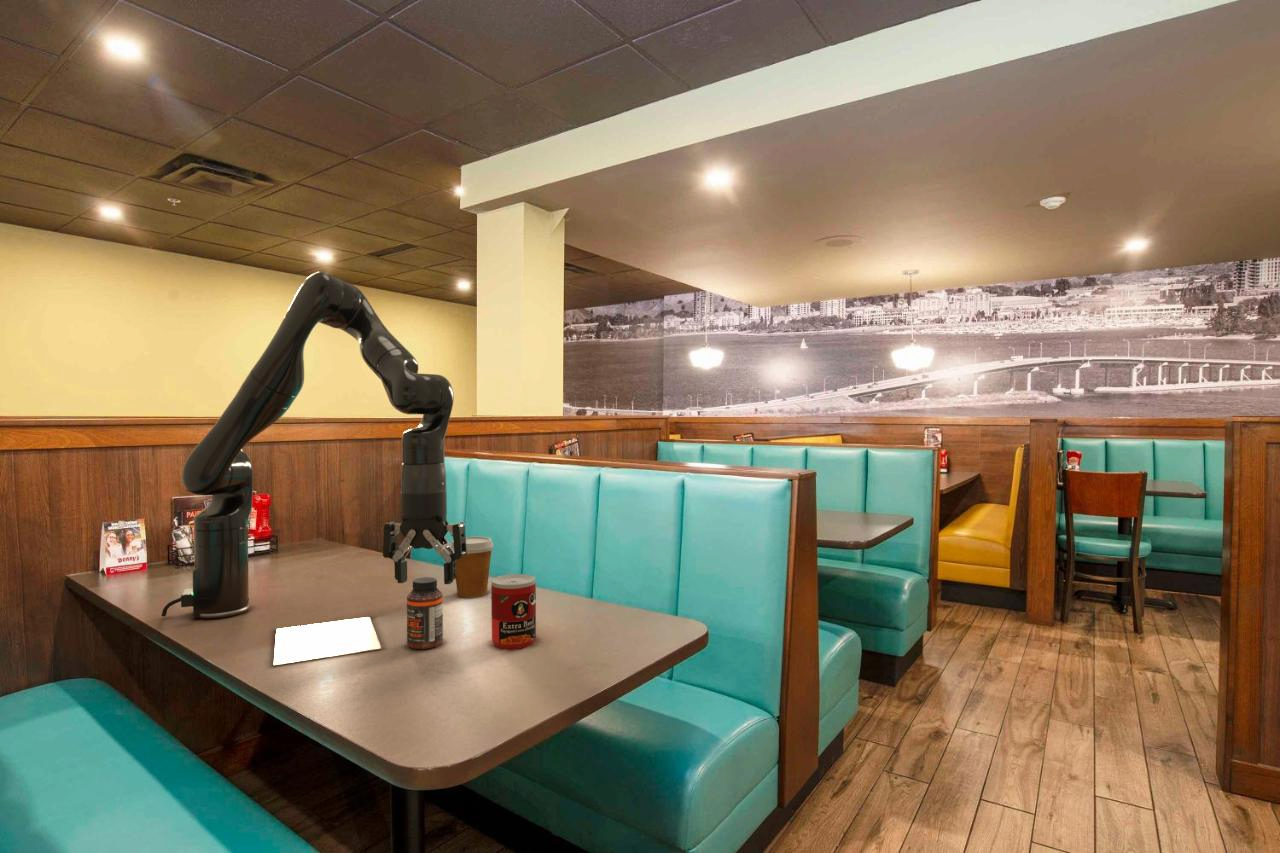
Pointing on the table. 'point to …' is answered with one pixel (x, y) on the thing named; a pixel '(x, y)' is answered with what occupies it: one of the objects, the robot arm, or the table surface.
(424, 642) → the supplement bottle
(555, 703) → the table surface
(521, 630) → the canned food
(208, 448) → the robot arm
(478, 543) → the disposable coffee cup
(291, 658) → the placemat
